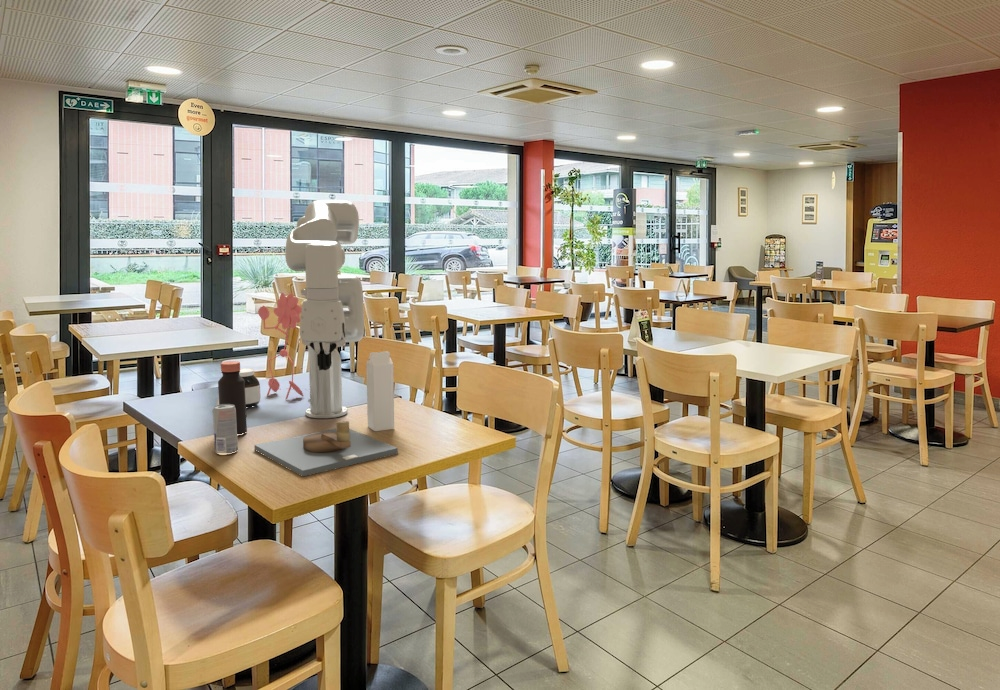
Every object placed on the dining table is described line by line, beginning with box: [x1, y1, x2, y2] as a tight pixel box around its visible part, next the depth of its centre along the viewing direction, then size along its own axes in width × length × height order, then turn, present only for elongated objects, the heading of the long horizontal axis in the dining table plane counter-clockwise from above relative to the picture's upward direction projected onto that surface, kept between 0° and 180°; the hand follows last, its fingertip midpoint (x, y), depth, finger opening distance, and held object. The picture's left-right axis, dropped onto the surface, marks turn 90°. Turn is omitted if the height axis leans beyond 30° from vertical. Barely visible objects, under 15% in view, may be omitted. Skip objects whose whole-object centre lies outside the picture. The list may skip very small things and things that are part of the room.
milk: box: [365, 351, 395, 432], centre depth 200 cm, size 6×6×22 cm
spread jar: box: [216, 368, 261, 408], centre depth 223 cm, size 12×11×12 cm
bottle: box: [217, 360, 248, 434], centre depth 192 cm, size 7×7×20 cm
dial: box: [303, 420, 351, 452], centre depth 176 cm, size 16×11×8 cm
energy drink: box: [212, 404, 239, 453], centre depth 177 cm, size 5×5×12 cm
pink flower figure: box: [257, 292, 304, 402], centre depth 239 cm, size 15×26×35 cm, turn 59°
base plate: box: [254, 428, 399, 477], centre depth 178 cm, size 26×26×2 cm
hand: (324, 368), depth 173 cm, fingers closed
